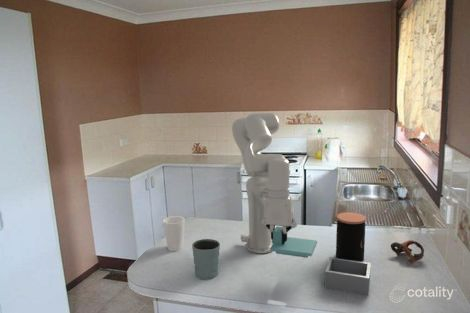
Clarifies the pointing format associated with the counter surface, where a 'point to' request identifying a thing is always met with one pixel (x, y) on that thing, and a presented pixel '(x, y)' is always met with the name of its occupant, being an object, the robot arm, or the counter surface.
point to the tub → (348, 276)
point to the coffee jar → (350, 236)
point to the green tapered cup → (206, 258)
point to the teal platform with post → (292, 245)
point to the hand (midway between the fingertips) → (279, 241)
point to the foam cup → (174, 232)
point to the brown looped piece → (408, 250)
